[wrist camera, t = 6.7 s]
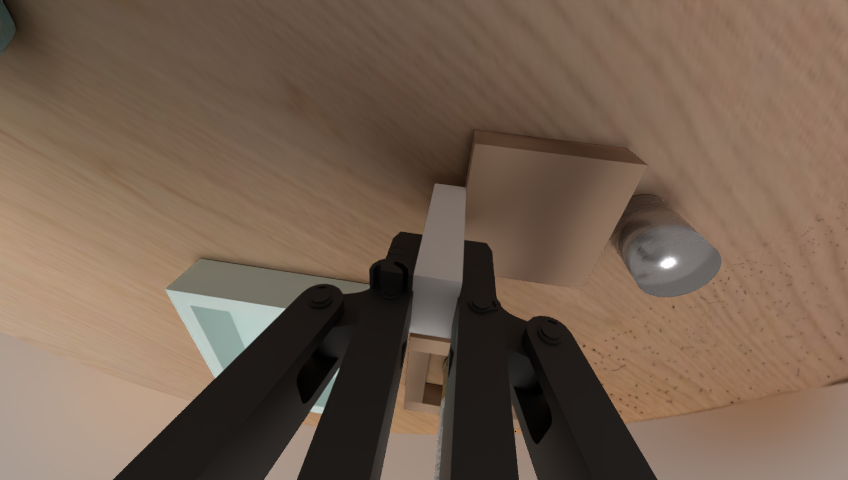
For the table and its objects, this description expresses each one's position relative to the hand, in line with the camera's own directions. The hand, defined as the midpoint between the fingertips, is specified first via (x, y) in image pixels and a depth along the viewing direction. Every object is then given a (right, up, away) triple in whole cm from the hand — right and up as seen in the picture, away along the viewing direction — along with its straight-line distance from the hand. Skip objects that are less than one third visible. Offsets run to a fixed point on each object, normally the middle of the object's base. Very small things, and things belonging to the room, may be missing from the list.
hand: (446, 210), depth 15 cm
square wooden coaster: (+4, +1, +1) cm, 5 cm away
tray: (-11, -9, +10) cm, 17 cm away
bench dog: (+10, 0, +1) cm, 10 cm away
